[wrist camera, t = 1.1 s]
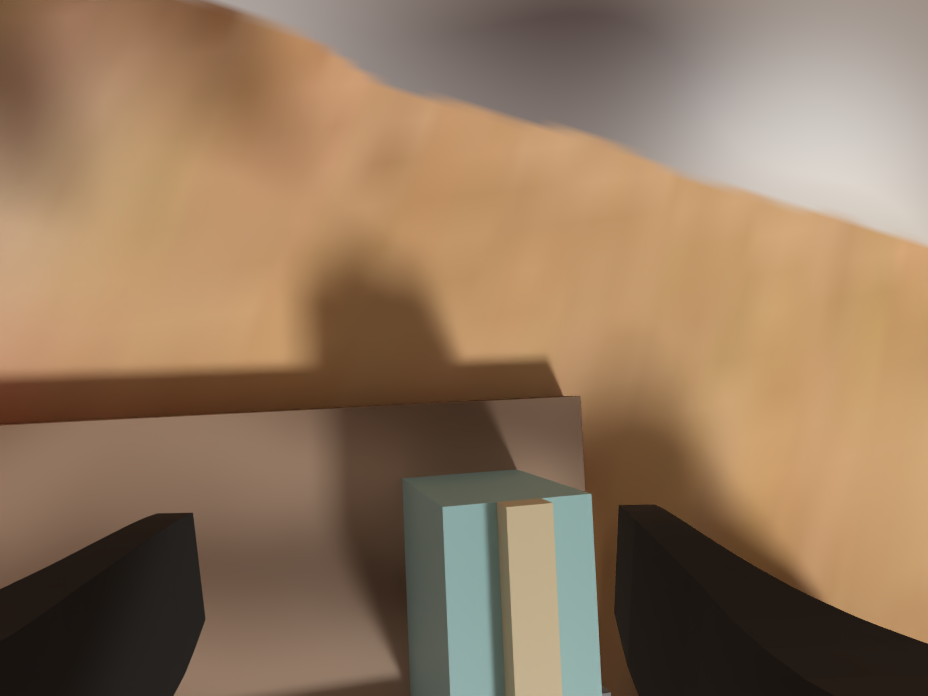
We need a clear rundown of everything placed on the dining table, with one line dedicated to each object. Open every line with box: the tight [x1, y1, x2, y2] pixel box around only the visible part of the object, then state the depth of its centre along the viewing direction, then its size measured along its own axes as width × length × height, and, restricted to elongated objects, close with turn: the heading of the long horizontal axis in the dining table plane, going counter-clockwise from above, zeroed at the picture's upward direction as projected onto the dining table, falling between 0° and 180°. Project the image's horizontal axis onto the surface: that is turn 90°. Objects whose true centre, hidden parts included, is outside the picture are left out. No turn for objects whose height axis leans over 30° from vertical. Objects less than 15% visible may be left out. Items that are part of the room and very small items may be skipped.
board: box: [0, 396, 611, 696], centre depth 22 cm, size 11×23×3 cm, turn 92°
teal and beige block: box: [402, 469, 602, 696], centre depth 20 cm, size 7×4×7 cm, turn 2°
